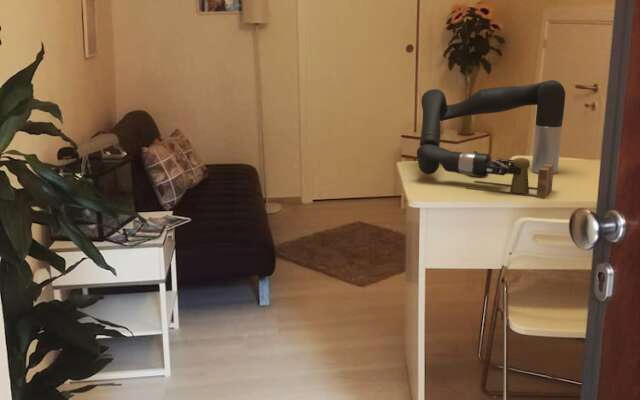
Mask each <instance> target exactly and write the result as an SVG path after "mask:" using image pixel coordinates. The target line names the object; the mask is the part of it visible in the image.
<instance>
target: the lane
mask: <svg viewBox="0 0 640 400" xmlns="http://www.w3.org/2000/svg"><path fill="white" fill-rule="evenodd" d="M553 171H554V164H553V163H546V164H545V165H543V166H542V167H541V168H540V169H539V173H537V175H538V176H537V187H533V186H529V190H535V191H536V194H531V193H513V192H510V191H507V190H499V189H491V188H482V187H474V186H466V187H465V189H467V190H476V191H484V192H490V193H491V192H492V193H501V194H507V195H516V196H517V195H518V196H526V197H533V198H538V197H540V199H545V198H546V197H547V196H548V195H550V194H551V192H552V190H553V189H552V188H553V182H554V181H553V179H554V174H553ZM473 183H476V184H477V183H478V184H483V185H484V184H485V185H492V186H493V185H494V186H502V187H509V188H511V184H507V183H501V182H500V183H499V182H489V181H481V180H474V181H473Z"/></svg>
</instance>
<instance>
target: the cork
mask: <svg viewBox="0 0 640 400" xmlns="http://www.w3.org/2000/svg"><path fill="white" fill-rule="evenodd" d="M513 160H514V161H513V166H514V167H516V168H521V173H520V175H514V174H512V177H511V178H512V179H511V183H510V185H511V187H509V192H513V193H525V194H530V189H529V187H530V186H529V185H530V184H529V173H528V171H529V170H528V169H529V168H530V165H531V162H530V160H529V159H528V158H525V157H518V158H515V159H513Z"/></svg>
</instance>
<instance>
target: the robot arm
mask: <svg viewBox="0 0 640 400" xmlns="http://www.w3.org/2000/svg"><path fill="white" fill-rule="evenodd" d="M420 99H421V106H422V122H421V123H422V124H421V133H420V138H419V147H418V148H417V150H416V159H417V164H418V169H419V171H421V173H423V174H424V175H432V174H435V173H436V172H437V171H438V169H439V167H440V165H441V166H442V167H443V170H444V171H445V172H449V173H458V174H463V175H464V174H465V175H467V176H468V175H469V176H473V175H477V176H481V177H488V176H489V175H497V176H505V175H513V174H514V175H520V173H521V168H516V167H514V166H513V161H514V160H515V159H509V158H507V159H506V158H496V159H495V160H493V159H491V158H492V157H491V155H490V154H489V153H482V152H477V153H473V152H471V151H466V152H465V151H464V152H461V151H452V150H449V149H446V148H444V147H440V145H441V134H442V132H441V131H442V130H441V122H442V121H443V122H444V121H447V120H452V119H457V118H462V117H468V116H470V117H471V116H476V115H485V114H488V115H489V114H496V113H502V112H507V111H510V110H514V109H518V108H522V107H526V106H537V107H536V113H535V114H536V116H535V125H534V127H535V128H534V137H533V150H532V151H533V152H532V162H531V172H533V173H536V174H539V169H540V168H541V167H542V166H543V165H545V164H546V163H553V164H554V171H553V175H555V174H558V171H559V162H560V151H561V142H562V141H561V138H562V129H563V128H562V127H563V121H564V114H565V113H564V112H565V103H566V90H565V88H564V86H563V84H562V83H561V82H559V81H557V80H553V79H550V80H545V81H542V82H541V81H540V82H538V83H534V84H533V83H532V84H527V85H519V86H518V85H516V86H514V85H513V86H511V85H510V86H499V87H498V86H497V87H489V88H483V89H482V88H481V89H479V90H477V91H476V92H474V93H472V95H470V96H469V97H467V98H466V99H464V100H462V101H461V102H457V103H453V104H447V98H446V96H445V93H444V92H443V91H442V90H441V89H437V88H436V89H435V88H433V89H429V90H427V91H425V92H424V93H423V94H422V96H421V98H420Z"/></svg>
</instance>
